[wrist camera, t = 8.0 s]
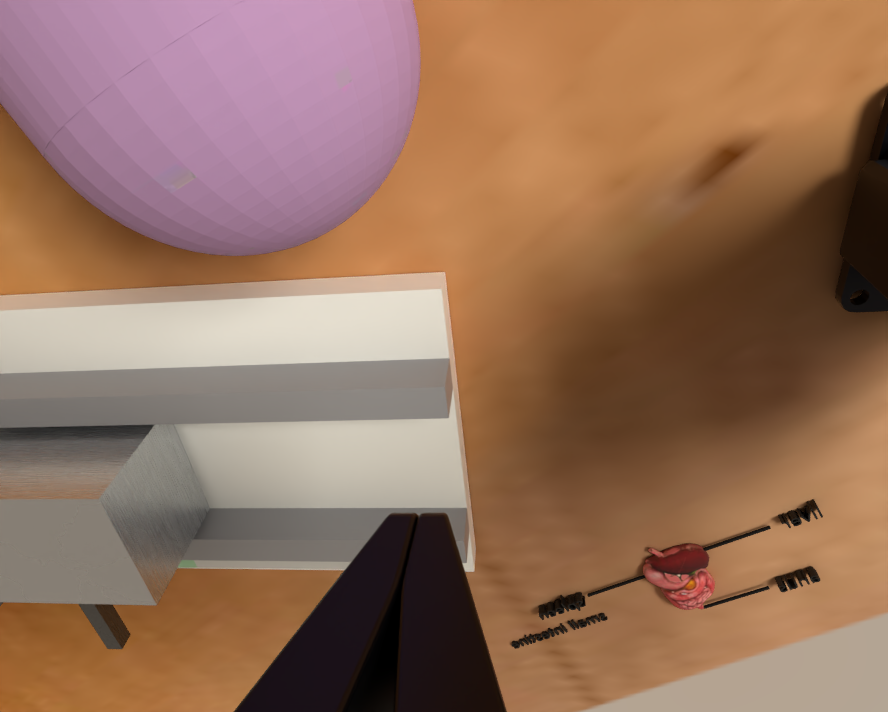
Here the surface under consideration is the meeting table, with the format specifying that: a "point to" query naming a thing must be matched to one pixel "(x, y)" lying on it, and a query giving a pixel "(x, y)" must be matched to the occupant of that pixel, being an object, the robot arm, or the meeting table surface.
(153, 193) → the toy
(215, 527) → the gauge bed
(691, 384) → the meeting table surface
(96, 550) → the brushed metal block
